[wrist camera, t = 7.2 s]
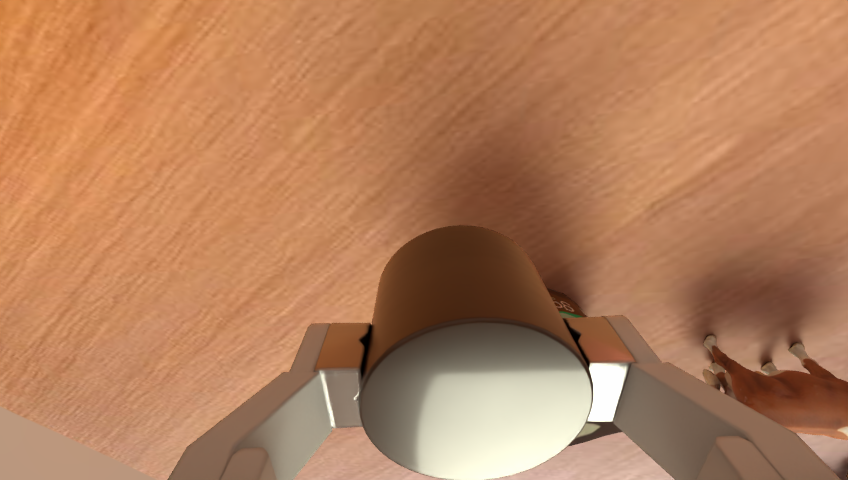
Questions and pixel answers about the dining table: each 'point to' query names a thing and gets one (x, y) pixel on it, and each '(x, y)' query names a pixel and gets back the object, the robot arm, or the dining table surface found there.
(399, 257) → the brown cylinder
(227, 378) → the dining table surface
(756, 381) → the bull figurine
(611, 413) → the robot arm
